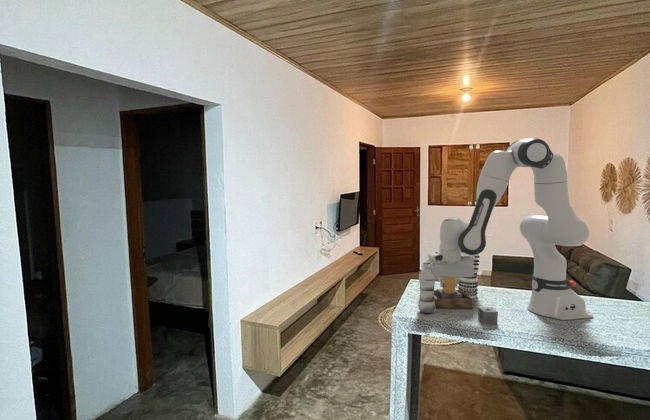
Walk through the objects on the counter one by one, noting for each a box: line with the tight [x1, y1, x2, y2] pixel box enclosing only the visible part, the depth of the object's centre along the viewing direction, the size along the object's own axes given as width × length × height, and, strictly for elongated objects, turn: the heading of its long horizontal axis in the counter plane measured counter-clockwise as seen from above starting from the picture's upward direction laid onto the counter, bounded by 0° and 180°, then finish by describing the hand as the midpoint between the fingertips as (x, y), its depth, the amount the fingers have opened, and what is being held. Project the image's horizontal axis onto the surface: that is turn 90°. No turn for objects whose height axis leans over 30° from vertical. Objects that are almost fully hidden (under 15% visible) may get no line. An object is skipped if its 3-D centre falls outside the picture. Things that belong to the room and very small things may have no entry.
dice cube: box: [477, 306, 499, 326], centre depth 133 cm, size 5×5×5 cm
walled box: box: [434, 288, 473, 310], centre depth 153 cm, size 15×13×5 cm
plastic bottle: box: [417, 261, 437, 314], centre depth 143 cm, size 6×7×20 cm
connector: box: [441, 277, 456, 293], centre depth 153 cm, size 4×4×10 cm
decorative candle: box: [457, 250, 481, 299], centre depth 164 cm, size 9×9×25 cm
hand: (448, 286), depth 153 cm, fingers closed on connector, 4 cm apart
